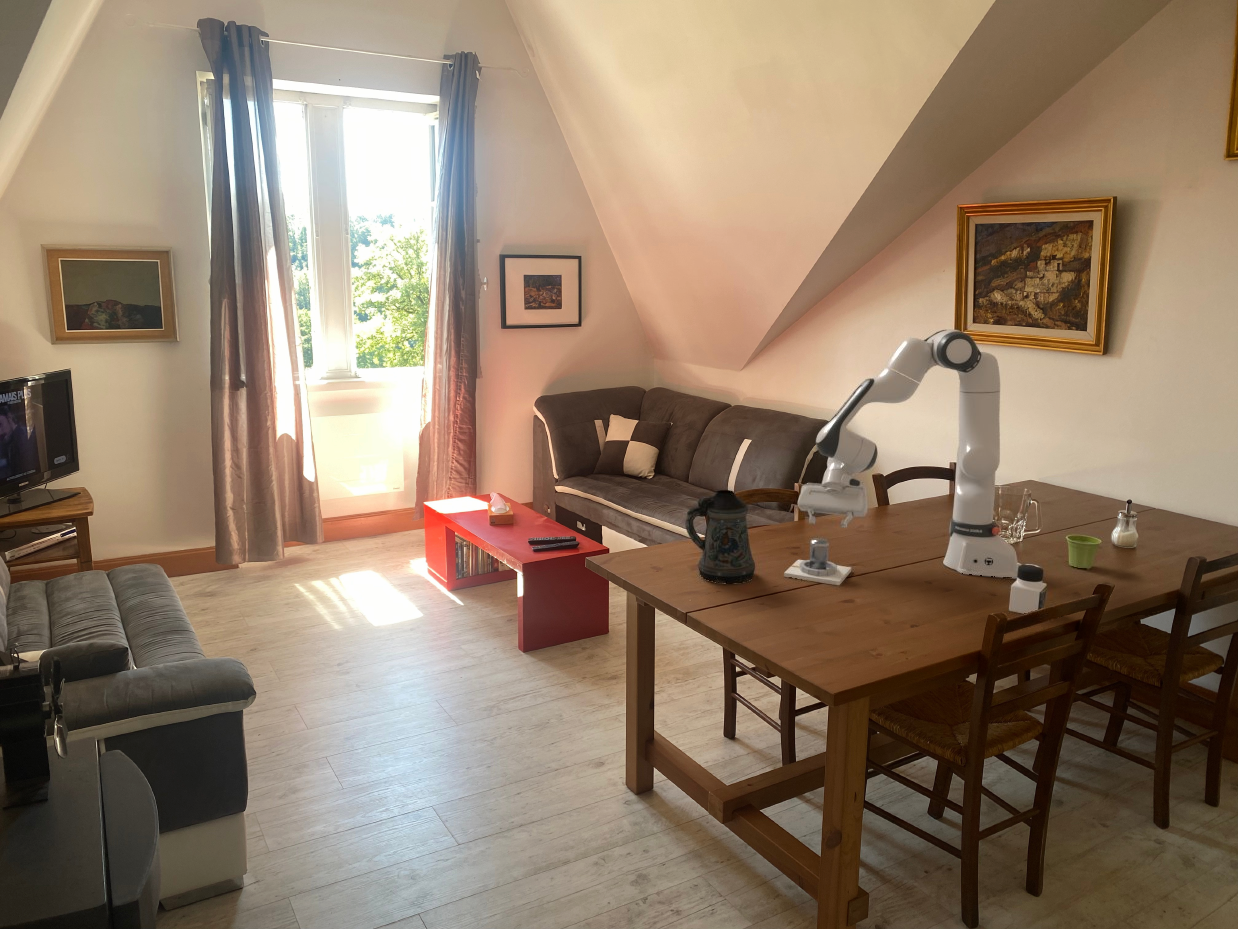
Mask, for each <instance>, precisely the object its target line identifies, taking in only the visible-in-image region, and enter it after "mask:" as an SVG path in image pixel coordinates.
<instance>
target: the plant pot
mask: <svg viewBox="0 0 1238 929" xmlns="http://www.w3.org/2000/svg"><path fill="white" fill-rule="evenodd" d="M1065 539H1066V541H1067V545H1068V547H1067V548H1068V565H1069V566H1070V567H1071V566H1074V567H1078V568H1090V567H1092V568H1093V565H1094V562H1095V561H1094V560H1095V558H1096V554H1097V550H1098V548H1099V546H1100V544H1102V540H1101V539H1099V538H1096V537H1094V536H1089V535H1083V534H1069V535H1067V536H1066V537H1065Z"/></svg>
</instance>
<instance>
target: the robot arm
mask: <svg viewBox="0 0 1238 929" xmlns="http://www.w3.org/2000/svg"><path fill="white" fill-rule="evenodd" d="M936 366H939V367H941V368H943V369H949V370H953V371H956V372H957V374H958V379H959V387H958V388H959V389H958V390H959V391H958V394H959V395H958V446H957V451H956V465H955V467H956V468H955V484H954V499H953V510H952V517H951V519H950V523H949V537H950V538H949V542H948V546H947V551H946V554H945V557H944V559H943V565H945V566H946V567H948V568H950V569H952V570H955V571H957V572H958V573H960V574H962V573H963V574H962V575H969V574H972V575H973V576H980V575H982V577H991V576H993V578H1003V577H1012V578H1011V579H1017V573H1018V567H1019V566H1020V565H1022V563H1020V562H1018V556H1017V553H1016V550H1015V548H1014V547H1013V546H1012V545H1011V544H1010V543H1009V542H1007V541H1006V540H1005V538H1003V537H1001V536H1000V535H999V534H1000V530H1001V529H1000V524H999V523H998V522H997V523H996V522H995V521H993V519H994V518H993V515H994V507H995V505H994V504H995V496H996V494H995V493H996V492H995V491H996V471H998V469H999V466H1000V461H1001V460H1000V458H1001V447H1000V446H1001V445H1000V444H1001V439H1000V437H1001V433H1000V432H1001V431H1000V429H1001V428H1000V424H1001V423H1000V412H1001V411H1000V410H1001V409H1000V408H1001V404H1000V403H1001V376H1000V369H999V368H1000V367H999V362H998V359H997V358H996V356H994V355H993V354H991V353H989V352H985V351H980V349H979V347H978V346H977V343H976V341H975V340H974V339H973V338H972V336H971V335H970V334H967V333H966V332H963V331H960V330H959V329H942V330H939V331H936V332H935V333H933V334H932V335H930V336H928V337H927V338H926V339H924V340H923V339H922V338H918V337H909V338H907V339H904V340H903V341H902V343H901V344H900V345H899V346H898V347H897V348H896V350H895V351H894V352H893V354H892V355H891V356H890V358H889V359H888V361H887V362H886V364H885V366H884V368H883V369H882V370H881V372H880V373H879V374H877V375H875V376H874V377H872V378H867V379H865V380H863V381H862V382H861V383H860V384H858V387H857V388H856V389H855V390H854V391H853V392H852V393H851V395H849V397H848V398H847V399H846V401H845V402H844V403H843V404H842V405H841V407H840V408H839V409H838V411H837V412H836V413H835V414H834V416H832V418H831V419H829V421H827V423H825V425H824V426H823V427H822V428H821V429H820V430H819V432H818V433H817V435H816V438H815V444H816V445H815V446H816V448H817V450H818V452H819V454H820V455H822V456H825V457H828V458H827V462H826V465H827V466H826V467H827V468H826V470H825V472H824V474H823V477H822V481H821V483H819V482H818V483H813V482H807V483H805V484H803V485H802V486H801V488H800V493H799V496H798V500H797V506H798V508H799V510H800V511H803V512H808V515H809V519H808V522H809V524H812V525H815V524H816V521H817V520H816V516H813V515H814V513H819V514H820V513H821V514H829V515H839V516H847V517H846V518H845V519H841V522H840V527H841V528H848V527H847V526H848V524H849V523H850V522H851V521H852V520H853V518H854V517H857V518H858V517H859V518H863V517H865V516H866V515H867V512H868V500H867V487H866V485H865V483H864V481H862V480H860V479H857V478H854V476H855V475H856V474H861V473H863V472H866V471H868V470H870V469H872V468H873V466H874V465H875V464H876V462H877V459H878V447H877V444H876V443H875V442H874V441H872V440H870V439H869V438H867V437H865V436H862V435H859V434H858V433H856V432H854V431H852V430H851V429H848V428H847V426H848V425H849V424H850V422H852V420H853V419H854V417H856V415H857V414H858V413H859V411H860V410H861V409H863V407H865V406H866V405H868V404H871V403H882V404H883V403H884V404H900V403H903V402H906V401H908V400H909V399H911V397H912V396H913V395H914V394H915V393H916V391H917V390H918V388H919V386H920V384H921V382H922V381H923V380H924V377H925V375H926V374H927V373H928V372H929V370H931V369H932V368H934V367H936ZM972 575H971V576H972ZM994 576H995V577H994Z"/></svg>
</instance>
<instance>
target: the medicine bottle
mask: <svg viewBox="0 0 1238 929" xmlns="http://www.w3.org/2000/svg"><path fill="white" fill-rule="evenodd" d="M1043 579H1044V569H1043V568H1042V567H1041V566H1038V565H1036V564H1030V563H1026V564H1025V563H1024V564H1021V565H1020V566H1019V567H1018V573H1017V578H1016V579H1015V581H1014V582H1013V583H1012V584H1011V585H1010V596H1009V607H1008V611H1010V612H1011V613H1018V614H1022V615H1025V614H1024V613H1028V612H1031V611H1035V610H1039V609H1041V608H1044V609H1045V606H1046V605H1045V604H1046V596H1047V583H1045V582H1043Z"/></svg>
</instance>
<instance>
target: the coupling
mask: <svg viewBox="0 0 1238 929" xmlns="http://www.w3.org/2000/svg"><path fill="white" fill-rule="evenodd" d="M829 546H830V544H829V539H826V538H823V537H815V538H811V539H810V549H809V550H810V551H809V560H810V568H811V569H817V570H826V569H827V561H828V560H829Z"/></svg>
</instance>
